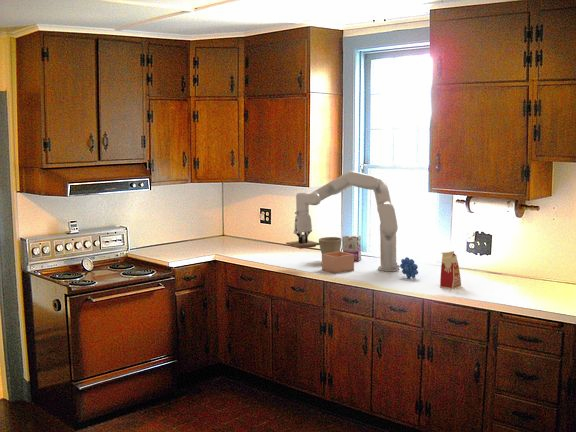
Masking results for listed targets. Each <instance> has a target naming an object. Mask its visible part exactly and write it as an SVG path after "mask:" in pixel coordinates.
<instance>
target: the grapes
mask: <svg viewBox="0 0 576 432" xmlns="http://www.w3.org/2000/svg"><path fill="white" fill-rule="evenodd" d="M400 262H401V263H400V265H399V266H400V267H399V268H400V269H401V273H402V274H403V275H406V278H407V279H415V278H416V276H417V275H419V271H418V268H419V267H418V264H417V263H415V260H414V259H412V258H409V257H408V256H406V257H405V258H402V259H401V260H400Z"/></svg>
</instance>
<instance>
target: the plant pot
mask: <svg viewBox="0 0 576 432" xmlns="http://www.w3.org/2000/svg"><path fill="white" fill-rule="evenodd" d="M342 242H343V237H342V238H341V237H337V236H325V237H320V238H318V243H320V245H319V249H320V253H321V255H322V254H325V253H331V252H338V251H341V248H342Z"/></svg>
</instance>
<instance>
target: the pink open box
mask: <svg viewBox="0 0 576 432" xmlns="http://www.w3.org/2000/svg"><path fill="white" fill-rule="evenodd" d="M321 270H322V271H325V272H327V273H328V272H329V273H331V274H335V275H337V274H343V273H346V272H347V273H348V272H353V271H355V261H354V254H350V253H346V252H343V251H341V250H340V251H338V252H331V253H325V254H322V253H321Z"/></svg>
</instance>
